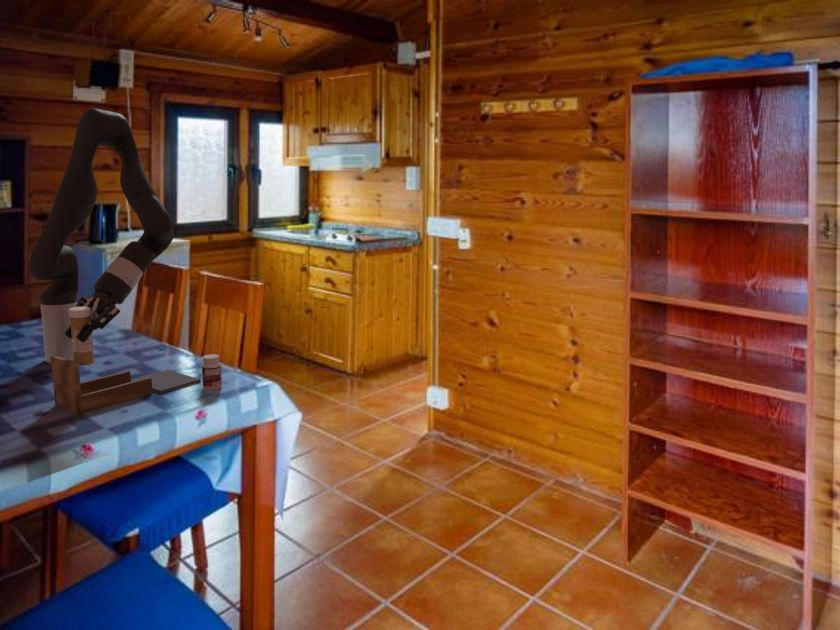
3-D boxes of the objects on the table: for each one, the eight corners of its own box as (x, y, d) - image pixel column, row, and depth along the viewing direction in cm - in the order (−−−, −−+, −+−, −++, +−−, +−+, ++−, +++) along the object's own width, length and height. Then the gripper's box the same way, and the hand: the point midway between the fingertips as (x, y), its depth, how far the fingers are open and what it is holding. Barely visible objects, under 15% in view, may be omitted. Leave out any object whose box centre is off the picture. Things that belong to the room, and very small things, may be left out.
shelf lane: (55, 405, 158) (50, 356, 155) (129, 385, 173) (125, 340, 171) (78, 414, 152) (74, 363, 150) (152, 393, 168) (149, 346, 165)
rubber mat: (128, 383, 175) (127, 380, 175) (167, 372, 185) (167, 369, 185) (160, 393, 167) (160, 390, 167) (200, 382, 177) (200, 379, 177)
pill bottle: (205, 384, 175) (203, 353, 173) (223, 384, 176) (222, 353, 174) (200, 390, 171) (199, 358, 169) (219, 390, 171) (218, 358, 169)
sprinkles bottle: (76, 361, 159) (72, 306, 156) (97, 360, 160) (93, 305, 157) (70, 366, 155) (65, 310, 152) (91, 366, 156) (87, 309, 153)
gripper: (90, 267, 163) (44, 324, 155) (125, 274, 155) (78, 334, 148) (112, 286, 168) (69, 342, 161) (147, 293, 160) (103, 352, 153)
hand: (74, 338), depth 154 cm, fingers closed on sprinkles bottle, 4 cm apart
